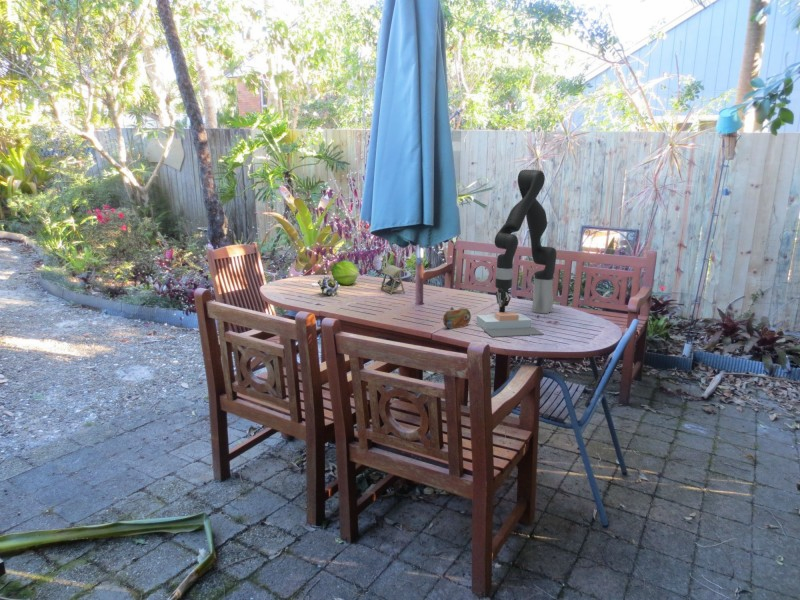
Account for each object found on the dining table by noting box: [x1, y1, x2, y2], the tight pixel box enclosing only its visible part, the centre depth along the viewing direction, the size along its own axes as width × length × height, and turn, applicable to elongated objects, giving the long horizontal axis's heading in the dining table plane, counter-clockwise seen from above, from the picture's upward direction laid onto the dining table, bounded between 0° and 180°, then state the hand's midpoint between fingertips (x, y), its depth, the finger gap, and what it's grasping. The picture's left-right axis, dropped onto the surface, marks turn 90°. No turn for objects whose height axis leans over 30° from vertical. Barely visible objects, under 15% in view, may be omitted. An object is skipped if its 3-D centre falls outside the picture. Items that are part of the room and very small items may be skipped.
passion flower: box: [317, 274, 341, 297], centre depth 306 cm, size 13×12×14 cm
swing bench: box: [380, 264, 407, 296], centre depth 315 cm, size 15×10×15 cm, turn 27°
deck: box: [475, 312, 532, 331], centre depth 249 cm, size 22×12×4 cm, turn 102°
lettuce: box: [331, 260, 360, 286], centre depth 334 cm, size 15×23×16 cm
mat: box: [483, 327, 545, 339], centre depth 238 cm, size 24×10×1 cm, turn 102°
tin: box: [442, 307, 472, 330], centre depth 245 cm, size 15×3×8 cm, turn 126°
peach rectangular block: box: [494, 311, 519, 321], centre depth 245 cm, size 9×6×2 cm, turn 102°
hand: (501, 314), depth 250 cm, fingers closed
